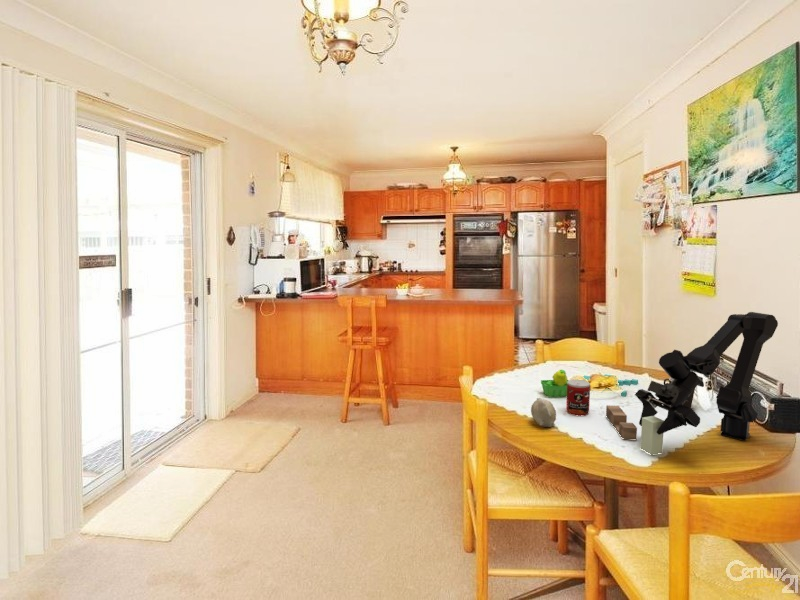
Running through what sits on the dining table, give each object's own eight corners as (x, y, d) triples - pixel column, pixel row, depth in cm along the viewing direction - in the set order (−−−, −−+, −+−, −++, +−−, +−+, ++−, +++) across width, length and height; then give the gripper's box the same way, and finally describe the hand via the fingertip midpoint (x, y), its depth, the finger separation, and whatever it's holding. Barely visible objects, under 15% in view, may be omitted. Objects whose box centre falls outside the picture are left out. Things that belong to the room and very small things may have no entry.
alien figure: (637, 384, 200) (589, 376, 213) (638, 379, 200) (589, 371, 213) (625, 397, 185) (573, 388, 198) (625, 392, 185) (573, 383, 197)
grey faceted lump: (548, 436, 157) (551, 413, 152) (524, 426, 161) (526, 403, 157) (559, 419, 163) (562, 396, 158) (536, 410, 168) (538, 388, 163)
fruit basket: (567, 391, 193) (567, 364, 191) (576, 398, 184) (577, 370, 183) (539, 392, 192) (540, 365, 191) (547, 399, 184) (548, 371, 182)
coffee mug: (698, 411, 169) (700, 384, 167) (672, 410, 170) (674, 383, 169) (684, 400, 180) (686, 374, 179) (660, 399, 182) (662, 374, 180)
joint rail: (606, 416, 166) (606, 405, 166) (618, 416, 166) (618, 405, 165) (622, 439, 148) (623, 427, 147) (636, 440, 147) (637, 427, 146)
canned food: (566, 415, 168) (567, 385, 167) (566, 407, 176) (567, 378, 174) (589, 417, 166) (590, 386, 164) (588, 409, 173) (589, 380, 172)
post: (651, 447, 142) (653, 415, 140) (662, 453, 138) (664, 420, 137) (640, 449, 141) (642, 417, 139) (651, 455, 137) (653, 422, 136)
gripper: (641, 363, 146) (610, 402, 144) (695, 380, 128) (660, 425, 127) (660, 385, 149) (630, 423, 148) (715, 405, 132) (681, 448, 130)
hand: (648, 429), depth 138 cm, fingers open, 6 cm apart
